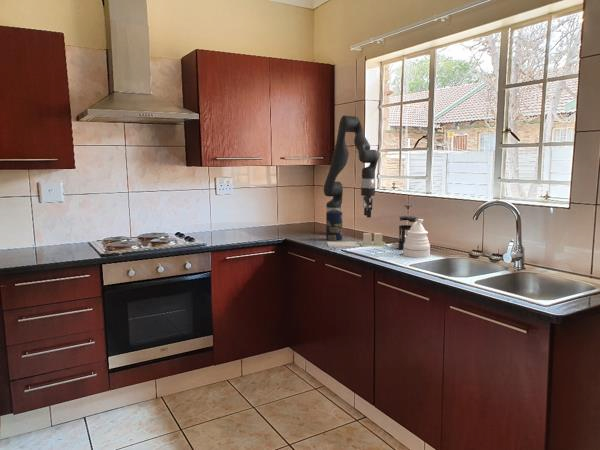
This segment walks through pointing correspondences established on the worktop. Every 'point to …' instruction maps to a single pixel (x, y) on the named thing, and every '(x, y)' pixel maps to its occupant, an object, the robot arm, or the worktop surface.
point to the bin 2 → (372, 244)
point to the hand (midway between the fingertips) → (367, 216)
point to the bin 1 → (343, 244)
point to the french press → (404, 228)
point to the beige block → (367, 238)
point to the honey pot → (417, 241)
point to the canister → (334, 225)
